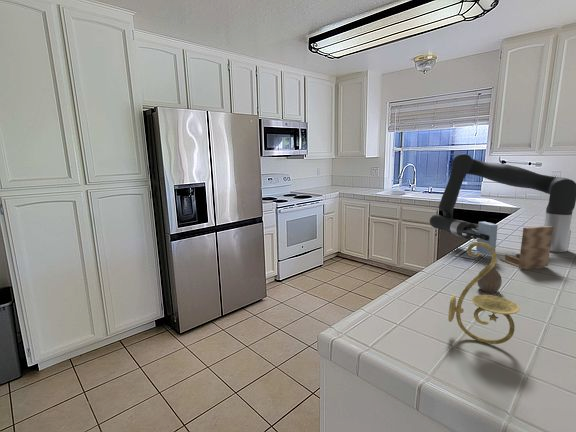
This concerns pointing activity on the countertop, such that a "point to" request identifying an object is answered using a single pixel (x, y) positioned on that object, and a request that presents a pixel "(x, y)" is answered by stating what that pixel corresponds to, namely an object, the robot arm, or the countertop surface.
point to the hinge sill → (533, 248)
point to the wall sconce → (484, 302)
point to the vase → (490, 281)
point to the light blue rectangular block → (491, 232)
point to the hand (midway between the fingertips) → (492, 238)
